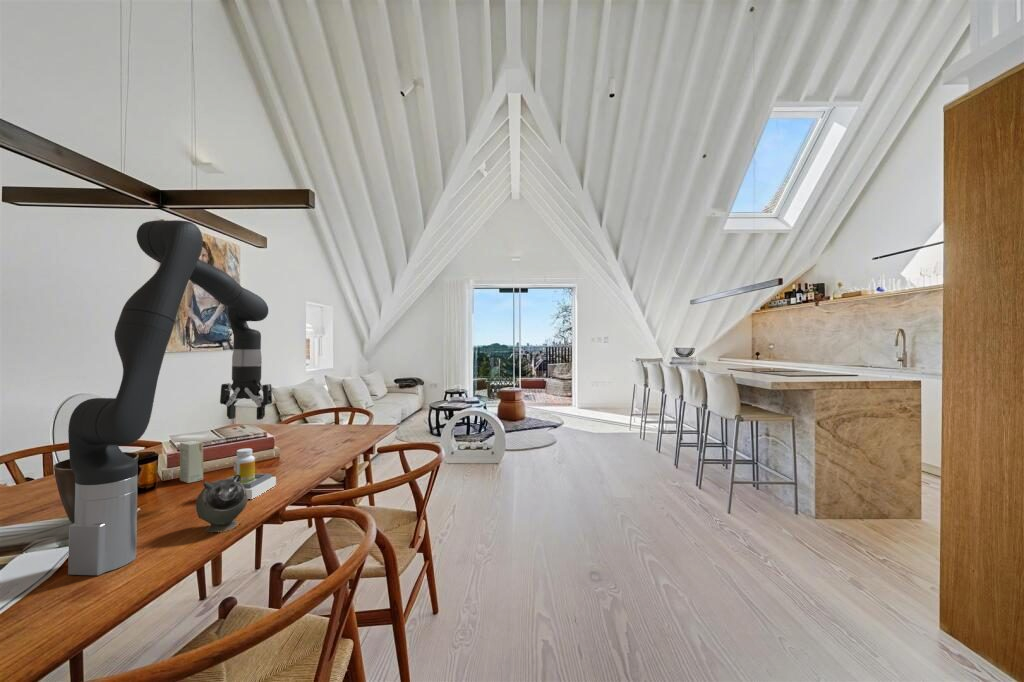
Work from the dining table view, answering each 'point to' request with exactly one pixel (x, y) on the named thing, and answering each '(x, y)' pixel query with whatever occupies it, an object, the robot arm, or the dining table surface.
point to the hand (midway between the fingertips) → (245, 419)
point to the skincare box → (191, 461)
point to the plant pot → (71, 484)
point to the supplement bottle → (245, 465)
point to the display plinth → (258, 485)
